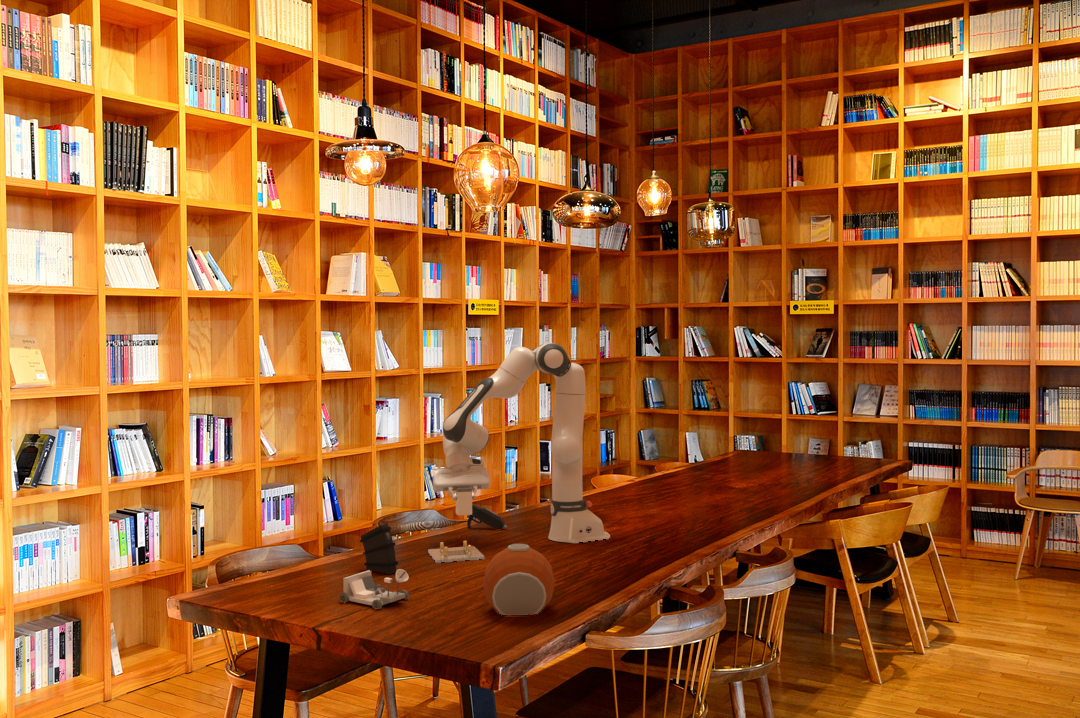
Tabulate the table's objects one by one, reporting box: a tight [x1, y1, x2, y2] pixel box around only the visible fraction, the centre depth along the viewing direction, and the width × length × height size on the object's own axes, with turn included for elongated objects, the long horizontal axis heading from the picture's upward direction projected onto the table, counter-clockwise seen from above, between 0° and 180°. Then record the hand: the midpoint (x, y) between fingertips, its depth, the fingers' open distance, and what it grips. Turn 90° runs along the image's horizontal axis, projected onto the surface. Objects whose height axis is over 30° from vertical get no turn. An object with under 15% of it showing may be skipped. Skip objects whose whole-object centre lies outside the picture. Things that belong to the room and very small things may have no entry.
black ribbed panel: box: [359, 523, 399, 575], centre depth 280 cm, size 4×13×15 cm, turn 53°
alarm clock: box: [482, 543, 556, 616], centre depth 237 cm, size 19×18×17 cm
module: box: [455, 487, 473, 516], centre depth 309 cm, size 5×4×9 cm
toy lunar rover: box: [338, 568, 410, 610], centre depth 247 cm, size 18×10×12 cm
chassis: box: [427, 540, 485, 564], centre depth 299 cm, size 16×16×4 cm
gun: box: [466, 504, 508, 530], centre depth 343 cm, size 3×16×10 cm, turn 79°
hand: (464, 498), depth 308 cm, fingers closed on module, 5 cm apart
